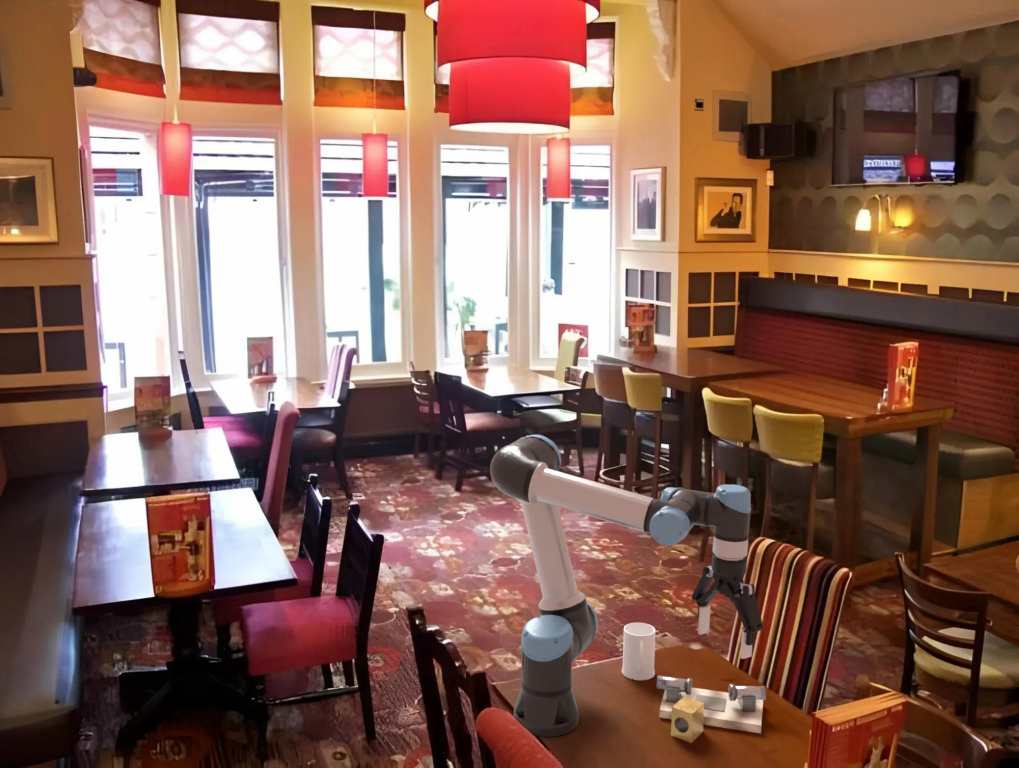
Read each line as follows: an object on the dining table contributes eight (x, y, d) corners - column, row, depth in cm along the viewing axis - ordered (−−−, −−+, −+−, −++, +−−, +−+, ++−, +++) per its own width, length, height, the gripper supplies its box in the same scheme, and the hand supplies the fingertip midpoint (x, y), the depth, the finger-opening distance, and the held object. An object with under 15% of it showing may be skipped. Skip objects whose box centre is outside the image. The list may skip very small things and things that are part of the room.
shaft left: (655, 700, 220) (656, 679, 219) (658, 690, 224) (659, 669, 223) (689, 705, 217) (690, 684, 216) (691, 695, 222) (692, 674, 221)
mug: (655, 688, 230) (657, 642, 228) (621, 685, 231) (622, 640, 229) (654, 666, 241) (655, 623, 239) (621, 664, 242) (622, 621, 240)
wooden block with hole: (690, 743, 205) (692, 714, 204) (670, 736, 208) (671, 707, 207) (703, 731, 210) (704, 702, 209) (683, 724, 213) (684, 696, 212)
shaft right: (731, 711, 215) (732, 690, 214) (727, 700, 220) (728, 679, 219) (766, 712, 214) (767, 690, 213) (761, 701, 219) (762, 680, 218)
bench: (659, 717, 216) (659, 708, 215) (666, 691, 228) (666, 683, 228) (760, 733, 209) (761, 724, 209) (762, 705, 221) (763, 697, 221)
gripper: (784, 570, 195) (777, 664, 199) (704, 535, 216) (699, 620, 220) (758, 576, 191) (752, 672, 195) (679, 540, 213) (674, 626, 216)
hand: (724, 644), depth 208 cm, fingers open, 13 cm apart
